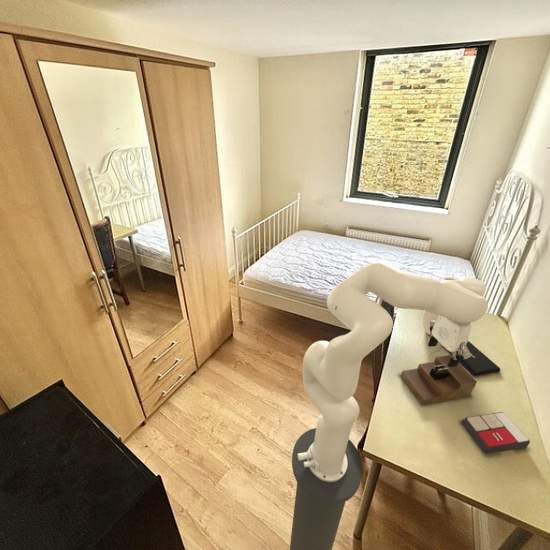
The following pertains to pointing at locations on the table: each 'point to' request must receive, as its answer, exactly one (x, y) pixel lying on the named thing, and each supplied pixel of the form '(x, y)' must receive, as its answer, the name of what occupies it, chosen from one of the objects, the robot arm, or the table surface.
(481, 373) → the laptop
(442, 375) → the clip
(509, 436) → the red grey flat block
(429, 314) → the vase
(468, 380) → the wooden stair steps
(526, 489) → the table surface
